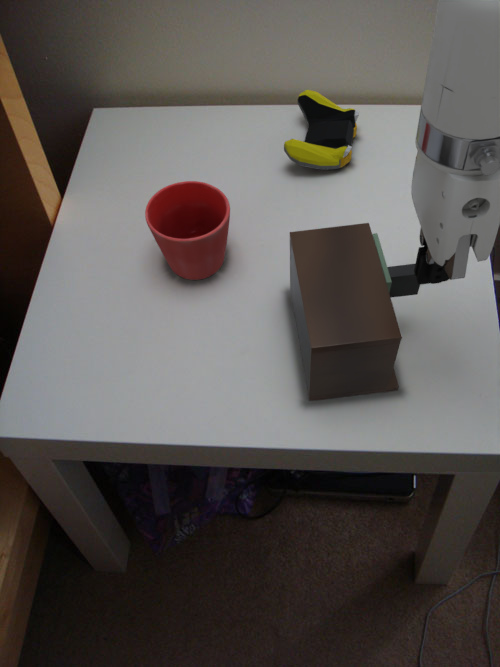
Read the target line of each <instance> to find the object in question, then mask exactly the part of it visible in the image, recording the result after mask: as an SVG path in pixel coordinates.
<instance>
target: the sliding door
mask: <svg viewBox="0 0 500 667" xmlns="http://www.w3.org/2000/svg"><path fill="white" fill-rule="evenodd" d="M372 235H373V239H374V242H375V245H376V249H377V252H378V256H379V259H380V263H381V266H382V270H383V273H384V277H385V280H386V284H387V287H388V290H389V294H390V297H391V299H392V298H399V297H408V296H416V295H418V294H419V290H420V288H421V285H420V284H418V282H417V276H415V273H414V269H415V264H416V262H415V263H408V264H399V265H391V266H388V265H387V262H386V258H385V255H384V252H383V251H384V250H383V248H382V244H381V240H380V237H379V234H378V233H377V232H374V233H372Z"/></svg>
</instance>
